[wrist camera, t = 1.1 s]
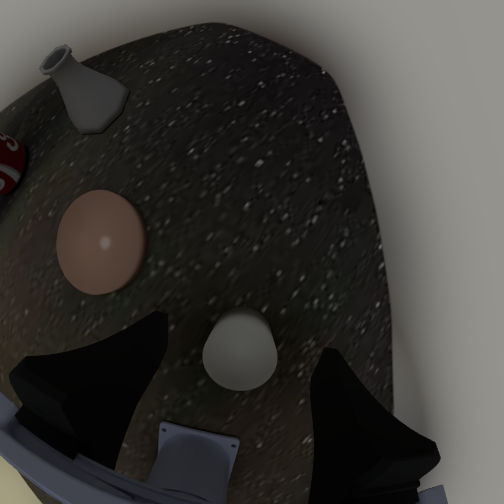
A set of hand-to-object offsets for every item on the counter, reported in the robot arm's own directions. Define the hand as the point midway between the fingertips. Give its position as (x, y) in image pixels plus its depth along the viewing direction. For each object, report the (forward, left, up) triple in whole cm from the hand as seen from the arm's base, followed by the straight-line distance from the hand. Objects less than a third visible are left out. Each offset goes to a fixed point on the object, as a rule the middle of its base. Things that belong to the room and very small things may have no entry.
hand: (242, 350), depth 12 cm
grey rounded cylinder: (-2, 0, -11) cm, 11 cm away
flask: (+17, +20, -11) cm, 28 cm away
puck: (+3, +14, -11) cm, 18 cm away
